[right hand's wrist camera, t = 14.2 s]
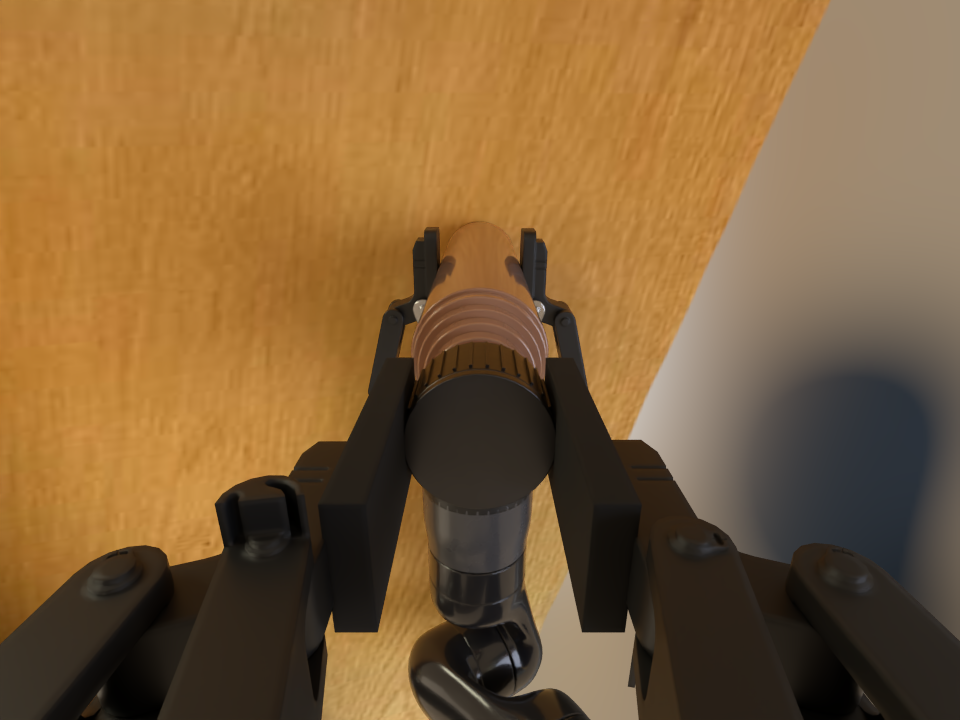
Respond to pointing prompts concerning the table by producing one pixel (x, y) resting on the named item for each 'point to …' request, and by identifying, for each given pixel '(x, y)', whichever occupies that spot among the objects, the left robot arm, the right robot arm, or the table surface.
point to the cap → (479, 427)
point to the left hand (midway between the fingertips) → (479, 230)
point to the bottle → (479, 300)
